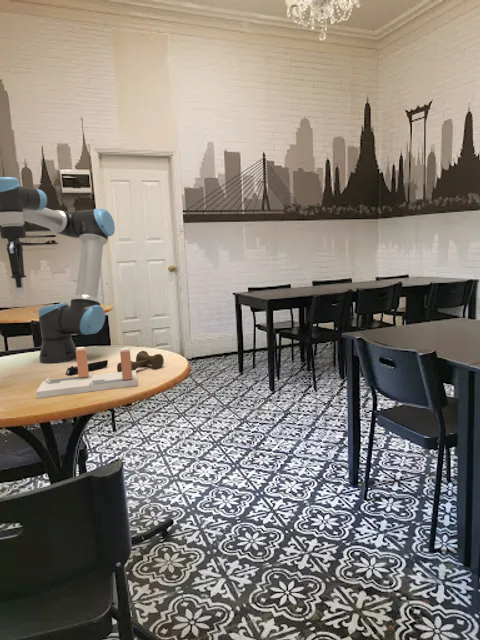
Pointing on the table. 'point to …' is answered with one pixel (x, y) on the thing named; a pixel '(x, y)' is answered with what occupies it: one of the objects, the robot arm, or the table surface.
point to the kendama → (145, 361)
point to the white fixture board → (85, 384)
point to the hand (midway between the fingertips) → (21, 297)
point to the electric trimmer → (90, 367)
